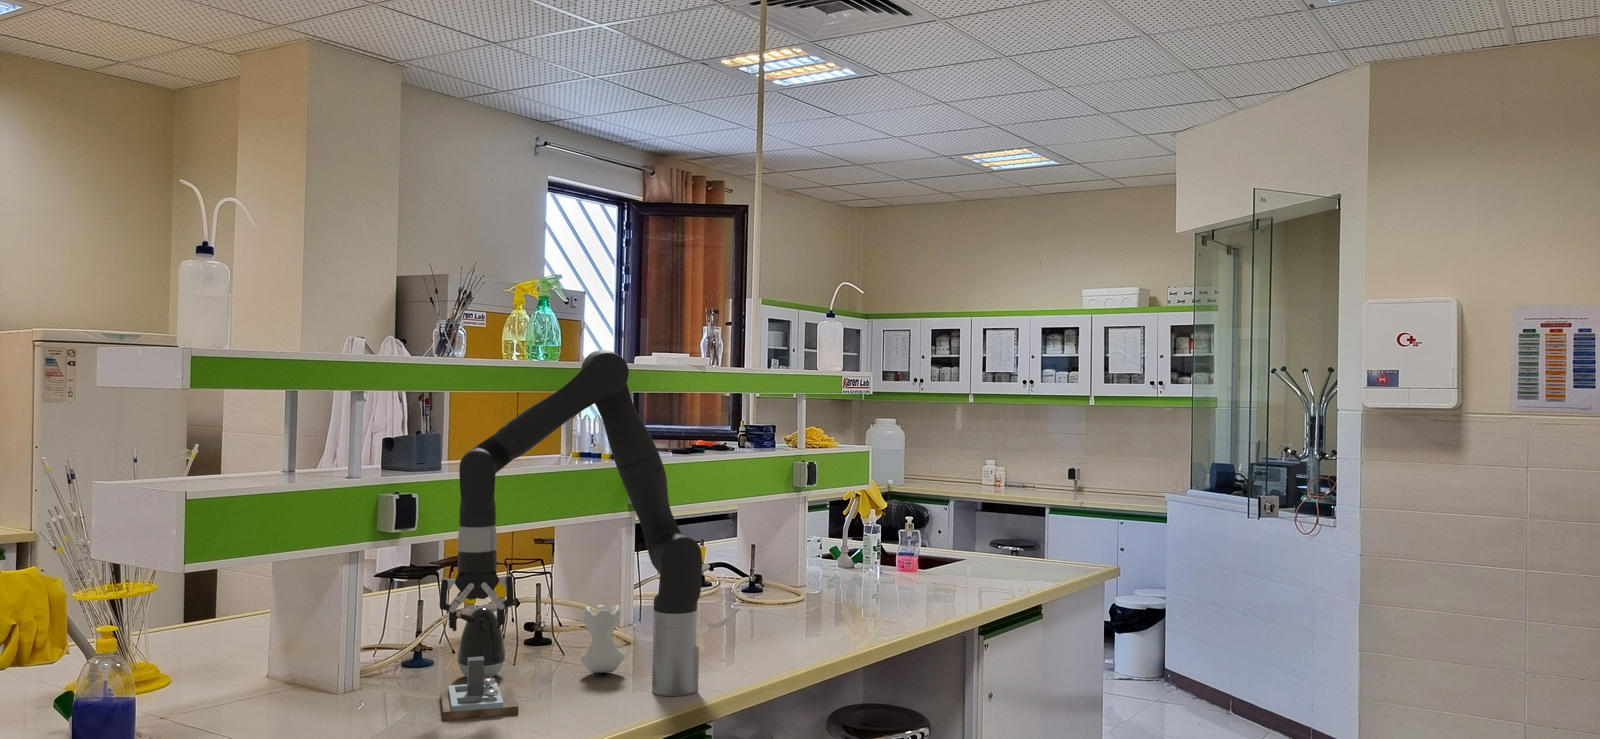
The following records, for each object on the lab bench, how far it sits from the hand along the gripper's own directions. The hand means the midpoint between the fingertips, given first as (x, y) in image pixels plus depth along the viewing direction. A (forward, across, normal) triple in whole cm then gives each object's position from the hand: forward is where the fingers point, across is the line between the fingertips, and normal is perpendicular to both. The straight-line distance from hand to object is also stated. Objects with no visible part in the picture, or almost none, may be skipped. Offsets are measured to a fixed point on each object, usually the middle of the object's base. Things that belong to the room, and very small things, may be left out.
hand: (476, 628), depth 223 cm
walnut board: (+15, 0, 0) cm, 15 cm away
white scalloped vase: (+16, -28, -20) cm, 38 cm away
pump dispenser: (+16, -2, -24) cm, 29 cm away
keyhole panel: (+14, 0, 0) cm, 14 cm away
